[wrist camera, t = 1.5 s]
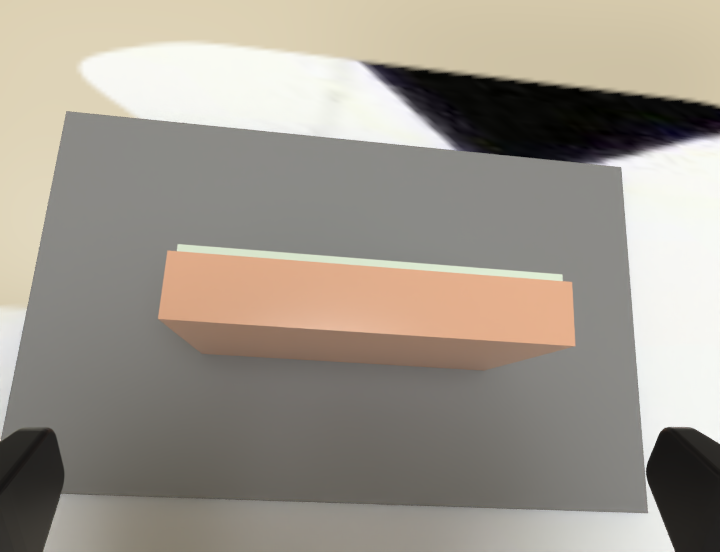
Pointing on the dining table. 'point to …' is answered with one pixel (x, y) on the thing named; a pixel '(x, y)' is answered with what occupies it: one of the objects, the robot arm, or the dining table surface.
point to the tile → (362, 309)
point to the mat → (323, 378)
